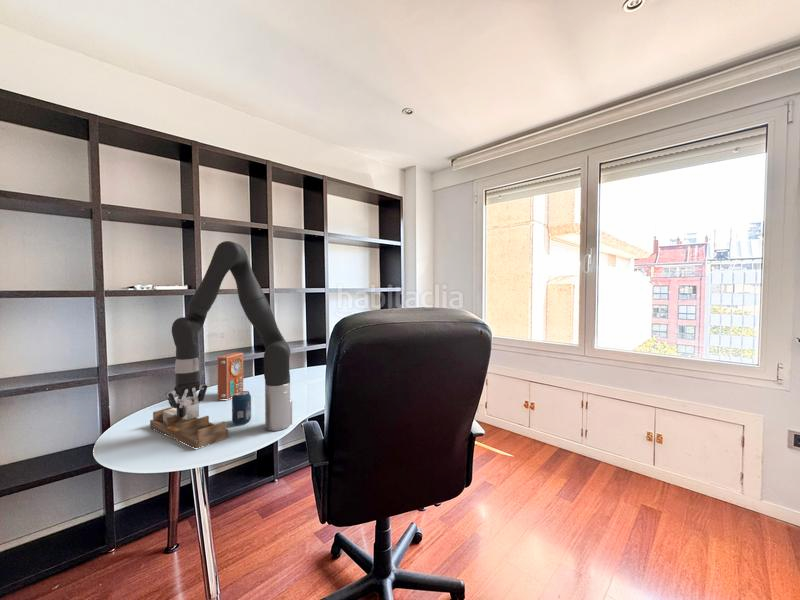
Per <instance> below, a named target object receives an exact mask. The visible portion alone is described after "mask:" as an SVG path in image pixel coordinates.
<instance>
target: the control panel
mask: <svg viewBox="0 0 800 600" xmlns="http://www.w3.org/2000/svg"><path fill="white" fill-rule="evenodd" d="M240 391H244V353H243V352H231V353H228V354H227V353H226V354H224V355H220V356H218V357H217V400H218V399H229V398H231V397H233V396H234V393H236V392H240Z"/></svg>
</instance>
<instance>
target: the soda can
mask: <svg viewBox="0 0 800 600" xmlns="http://www.w3.org/2000/svg"><path fill="white" fill-rule="evenodd" d="M251 419H252V396H251V394H250V391H249V390H243V391H240V392H236V393H234V396H233V397H232V399H231V421H232V423H233V424H234V425H235V424H236V426H242V425H246V423H247V424H248V423H249V422H250V421H251Z"/></svg>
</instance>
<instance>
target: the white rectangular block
mask: <svg viewBox="0 0 800 600" xmlns="http://www.w3.org/2000/svg"><path fill="white" fill-rule="evenodd" d="M182 408H183V419H186V420H189V419H192V418H196V417H197V418H200V402H199V403H196V402H193V401H192V400H191V399H185V402H184V404H183V407H182ZM176 416H177V408H176Z"/></svg>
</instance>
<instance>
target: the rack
mask: <svg viewBox="0 0 800 600" xmlns="http://www.w3.org/2000/svg"><path fill="white" fill-rule="evenodd" d="M209 417H210V416H209V415H205V416H202V417H196V418H192V419H189V420H186V419H183V418H179V417H178V416H176V408H174V407H171V406H170V407H166V408H162V409H159V410H155V411H153V412H152V419H149V428H150V429H151V428H152V429H151V430H153V429H155V430H157V431H159V432H161V433H160V434H162V433H163V434H162V435H164V434H166V435H168V436H170V437H172V438H175V439H177V440H178V441H181V442H183V443H185V444H187V445H189V446H191V447H194V448H199V447H202V446H205V447H207V446H206V445H208V444H210V445H212V443H213V444H215V443H214V442H216V443H218V442H220V440H221V441H222V439H223V440H226V439H228V438H229V429H228V428H226V422H225V421H221V422H218V423H213V422H209V419H210V418H209ZM155 430H154V431H155ZM157 431H156V432H157ZM159 432H158V433H159ZM166 435H165V436H166ZM168 436H167V437H168ZM170 437H169V438H170ZM227 437H228V438H227ZM172 438H171V439H172ZM225 438H226V439H225ZM178 441H177V442H178ZM217 441H218V442H217ZM185 444H184V445H185ZM187 445H186V446H187ZM189 446H188V447H189ZM208 446H209V445H208ZM191 447H190V448H191Z"/></svg>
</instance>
